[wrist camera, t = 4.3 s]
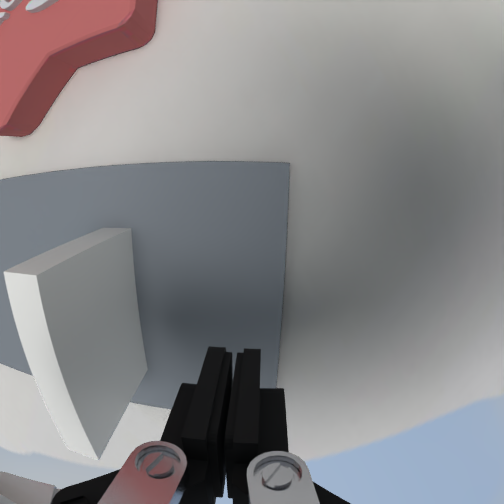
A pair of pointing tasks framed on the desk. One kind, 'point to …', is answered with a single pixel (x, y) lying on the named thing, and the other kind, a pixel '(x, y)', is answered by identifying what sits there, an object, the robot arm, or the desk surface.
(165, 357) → the tile mat
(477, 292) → the desk surface
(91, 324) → the tile
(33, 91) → the plaque
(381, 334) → the desk surface
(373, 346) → the desk surface
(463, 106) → the desk surface
